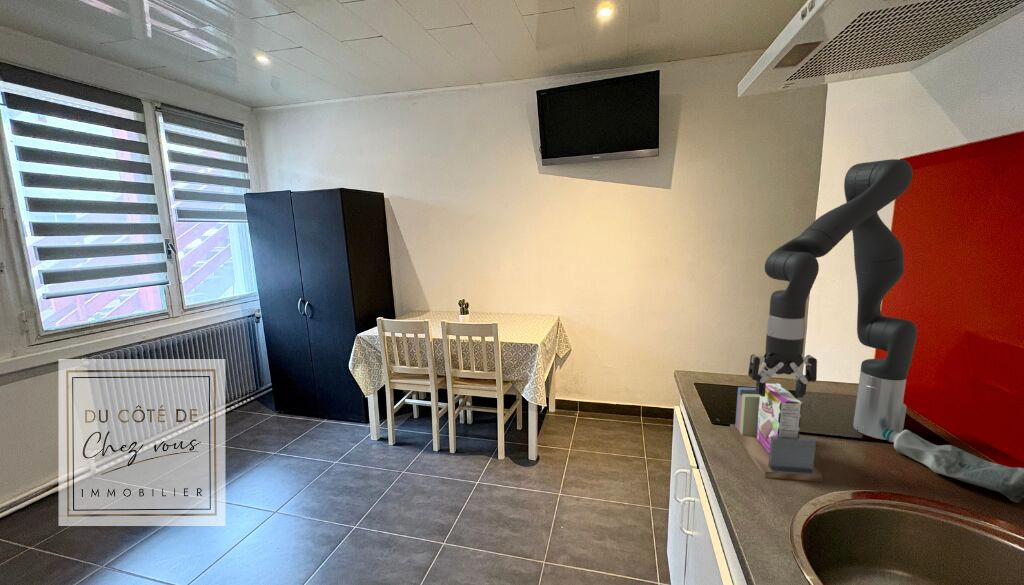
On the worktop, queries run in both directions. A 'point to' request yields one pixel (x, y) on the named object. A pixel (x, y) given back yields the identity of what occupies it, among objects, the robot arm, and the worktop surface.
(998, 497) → the worktop surface
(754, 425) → the row of books
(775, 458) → the bookend
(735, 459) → the worktop surface
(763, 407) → the candy bar box
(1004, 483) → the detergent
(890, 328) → the robot arm
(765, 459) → the shelf board
